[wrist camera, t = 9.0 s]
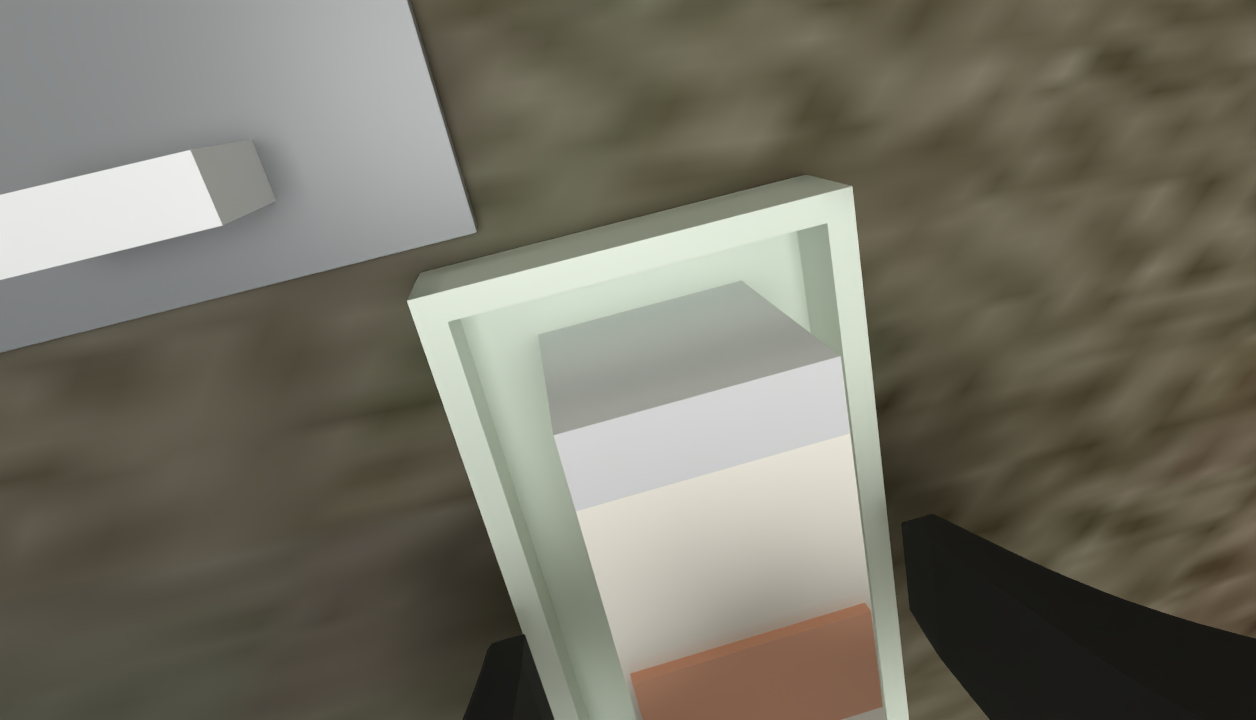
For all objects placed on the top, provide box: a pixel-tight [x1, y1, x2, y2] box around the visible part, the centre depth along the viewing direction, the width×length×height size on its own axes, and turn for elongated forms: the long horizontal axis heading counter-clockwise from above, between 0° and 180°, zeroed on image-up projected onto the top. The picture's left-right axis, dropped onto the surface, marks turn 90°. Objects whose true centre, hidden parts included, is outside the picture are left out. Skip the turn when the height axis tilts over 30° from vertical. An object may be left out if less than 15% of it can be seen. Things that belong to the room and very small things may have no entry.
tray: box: [407, 175, 909, 720], centre depth 15 cm, size 8×14×2 cm, turn 13°
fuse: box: [538, 281, 885, 720], centre depth 14 cm, size 4×10×5 cm, turn 13°
